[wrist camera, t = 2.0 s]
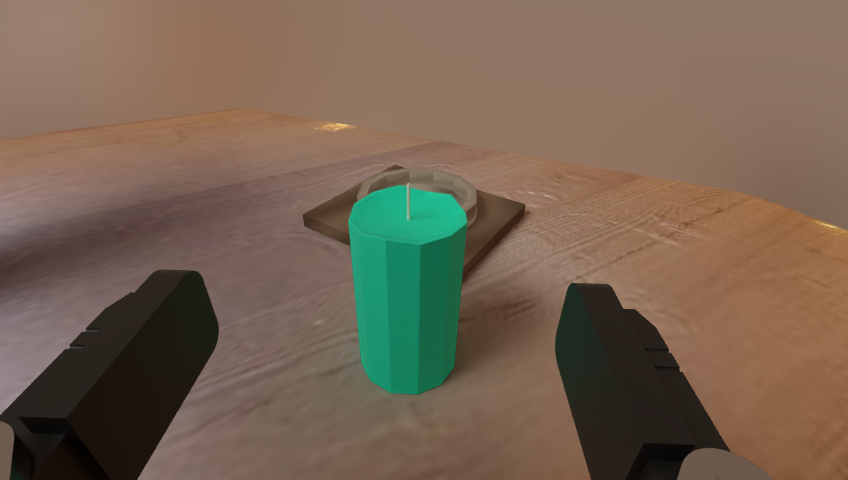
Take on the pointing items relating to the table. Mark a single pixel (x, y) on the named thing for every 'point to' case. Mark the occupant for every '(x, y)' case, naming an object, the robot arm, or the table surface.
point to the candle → (407, 285)
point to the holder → (482, 209)
